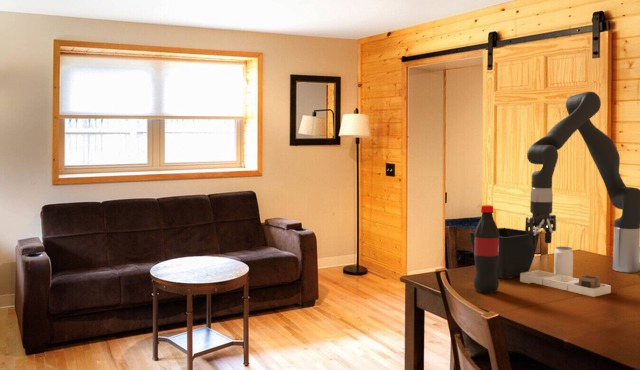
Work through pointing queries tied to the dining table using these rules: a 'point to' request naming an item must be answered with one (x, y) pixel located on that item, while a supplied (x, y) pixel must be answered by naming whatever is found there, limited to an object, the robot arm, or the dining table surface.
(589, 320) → the dining table surface
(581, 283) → the letter cube
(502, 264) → the flower pot
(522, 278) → the dish
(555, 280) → the dish
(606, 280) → the dining table surface
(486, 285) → the cola bottle
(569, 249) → the can
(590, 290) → the dish
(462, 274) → the dining table surface
